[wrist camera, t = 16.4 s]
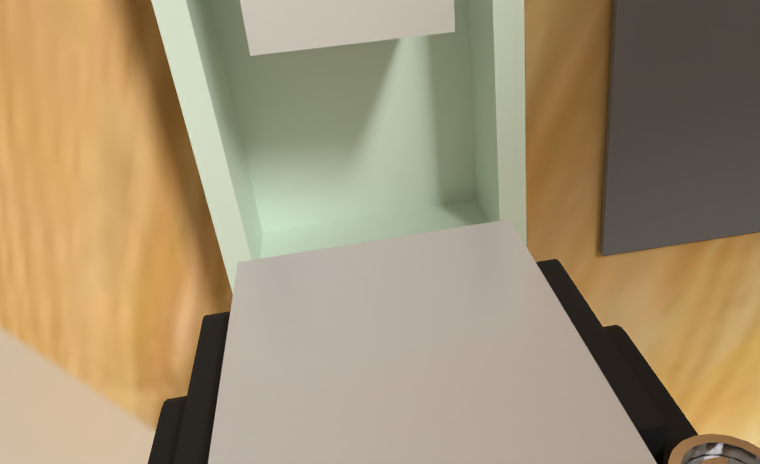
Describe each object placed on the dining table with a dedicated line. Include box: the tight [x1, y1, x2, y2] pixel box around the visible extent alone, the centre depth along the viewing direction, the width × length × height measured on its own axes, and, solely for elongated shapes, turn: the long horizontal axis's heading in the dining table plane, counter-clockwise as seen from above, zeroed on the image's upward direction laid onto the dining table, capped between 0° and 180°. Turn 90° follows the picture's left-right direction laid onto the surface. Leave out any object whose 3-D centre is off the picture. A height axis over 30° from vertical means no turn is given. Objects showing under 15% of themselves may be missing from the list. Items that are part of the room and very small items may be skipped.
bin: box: [151, 0, 527, 294], centre depth 19 cm, size 9×15×4 cm, turn 7°
